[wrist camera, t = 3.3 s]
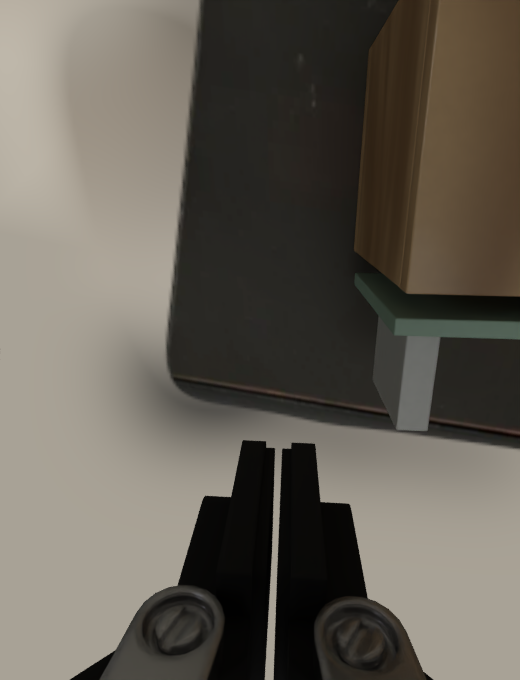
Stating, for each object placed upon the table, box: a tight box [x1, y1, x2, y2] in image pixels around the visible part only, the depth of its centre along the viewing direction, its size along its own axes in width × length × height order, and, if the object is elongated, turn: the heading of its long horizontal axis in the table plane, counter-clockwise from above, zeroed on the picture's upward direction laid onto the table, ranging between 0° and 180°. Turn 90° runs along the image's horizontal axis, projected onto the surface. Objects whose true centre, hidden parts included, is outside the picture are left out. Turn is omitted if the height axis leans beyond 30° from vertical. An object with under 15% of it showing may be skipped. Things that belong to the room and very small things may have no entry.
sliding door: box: [354, 273, 520, 431], centre depth 19 cm, size 8×5×9 cm, turn 89°
